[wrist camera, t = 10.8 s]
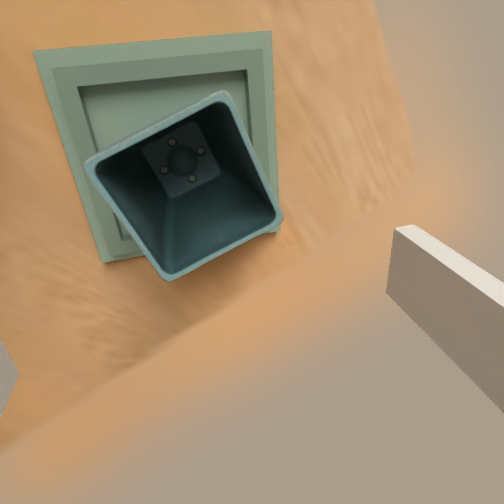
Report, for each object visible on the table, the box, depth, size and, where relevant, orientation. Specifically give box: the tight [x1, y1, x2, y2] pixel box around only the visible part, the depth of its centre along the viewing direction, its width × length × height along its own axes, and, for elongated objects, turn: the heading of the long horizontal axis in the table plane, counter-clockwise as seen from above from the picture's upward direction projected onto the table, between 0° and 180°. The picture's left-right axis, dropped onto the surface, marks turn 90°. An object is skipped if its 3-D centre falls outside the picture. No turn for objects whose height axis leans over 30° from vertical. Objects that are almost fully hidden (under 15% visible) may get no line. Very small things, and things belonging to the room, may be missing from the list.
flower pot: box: [83, 91, 284, 282], centre depth 25 cm, size 9×9×9 cm
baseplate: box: [32, 31, 280, 263], centre depth 29 cm, size 16×16×2 cm
